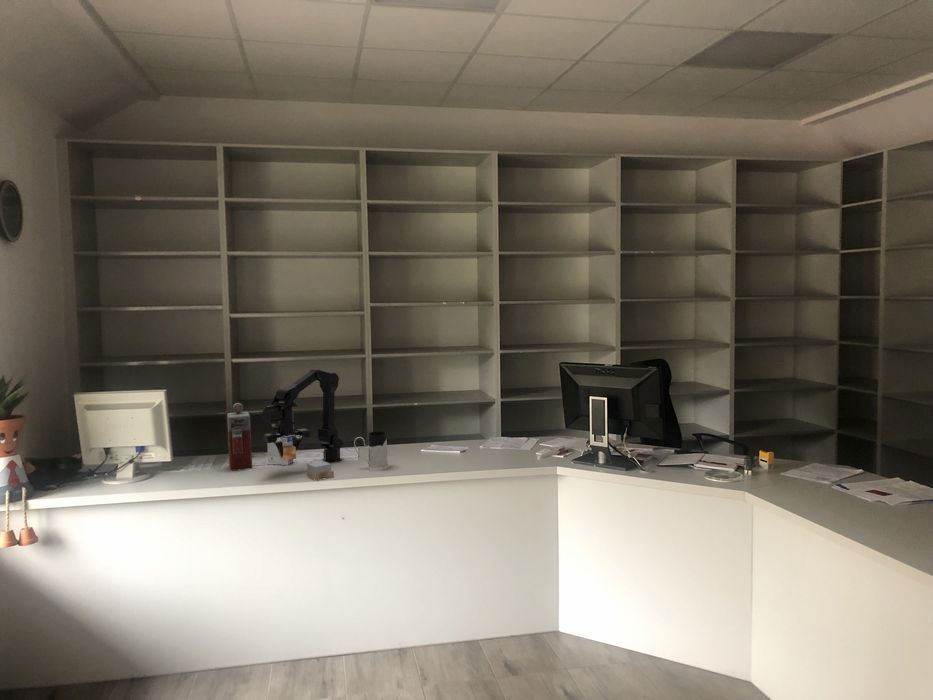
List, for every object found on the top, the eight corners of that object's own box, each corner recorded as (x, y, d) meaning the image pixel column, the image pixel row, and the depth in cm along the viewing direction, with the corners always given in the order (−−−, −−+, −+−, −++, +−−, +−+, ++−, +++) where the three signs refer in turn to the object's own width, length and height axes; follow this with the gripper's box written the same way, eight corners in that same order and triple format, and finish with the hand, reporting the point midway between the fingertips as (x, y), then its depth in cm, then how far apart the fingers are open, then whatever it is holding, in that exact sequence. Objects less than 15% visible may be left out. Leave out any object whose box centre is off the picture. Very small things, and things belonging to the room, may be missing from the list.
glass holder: (389, 469, 284) (388, 435, 282) (354, 471, 281) (353, 436, 280) (387, 464, 292) (387, 430, 291) (354, 466, 290) (353, 432, 288)
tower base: (325, 474, 280) (324, 467, 280) (333, 478, 274) (333, 471, 274) (307, 477, 275) (307, 470, 275) (315, 482, 269) (315, 474, 269)
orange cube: (291, 456, 282) (290, 444, 282) (296, 458, 279) (295, 446, 278) (279, 458, 279) (279, 446, 279) (284, 460, 275) (284, 448, 275)
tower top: (322, 467, 279) (322, 460, 279) (331, 471, 273) (330, 464, 273) (307, 470, 274) (307, 463, 274) (315, 474, 269) (315, 467, 269)
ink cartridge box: (294, 462, 298) (292, 430, 297) (288, 465, 293) (287, 433, 291) (273, 461, 300) (272, 429, 299) (267, 464, 295) (266, 432, 293)
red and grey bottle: (230, 471, 284) (227, 406, 281) (229, 465, 294) (226, 402, 291) (252, 469, 287) (249, 404, 284) (250, 463, 297) (247, 400, 295)
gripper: (299, 413, 289) (300, 448, 291) (257, 419, 278) (258, 455, 280) (310, 417, 281) (311, 453, 282) (267, 423, 269) (268, 461, 271)
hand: (287, 455), depth 279 cm, fingers closed on orange cube, 5 cm apart
